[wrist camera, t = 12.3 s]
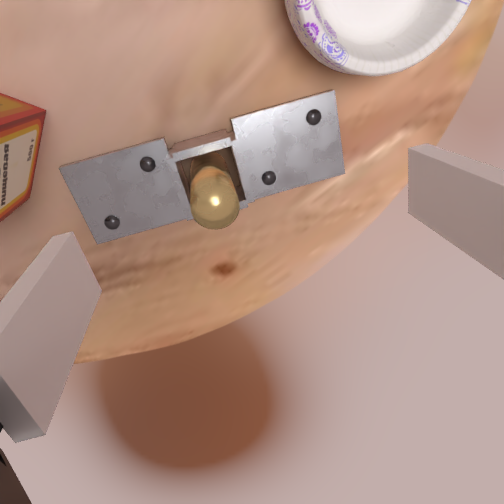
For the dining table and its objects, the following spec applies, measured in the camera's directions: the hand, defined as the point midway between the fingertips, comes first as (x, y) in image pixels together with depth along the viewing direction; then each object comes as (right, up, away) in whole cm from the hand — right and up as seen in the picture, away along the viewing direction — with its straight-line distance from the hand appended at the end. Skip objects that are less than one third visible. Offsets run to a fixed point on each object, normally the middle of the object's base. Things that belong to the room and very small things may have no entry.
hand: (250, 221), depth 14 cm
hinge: (-5, +8, +26) cm, 28 cm away
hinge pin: (-5, +8, +26) cm, 28 cm away
